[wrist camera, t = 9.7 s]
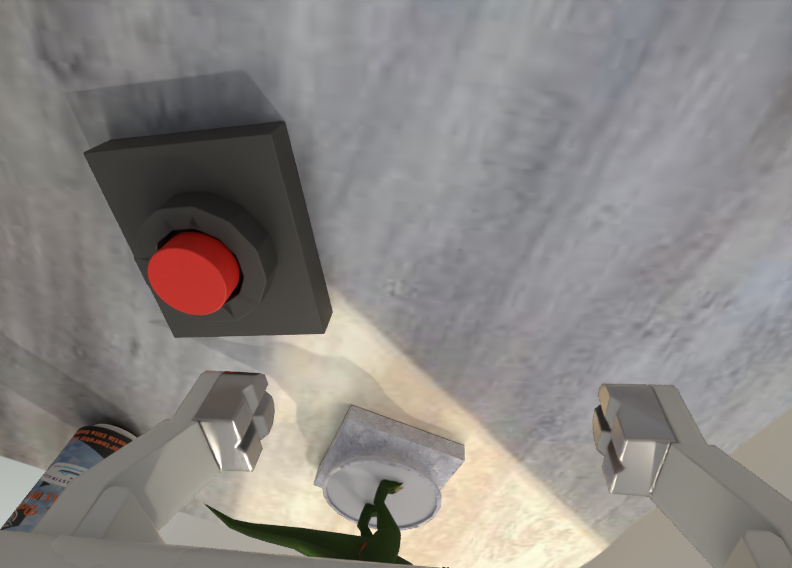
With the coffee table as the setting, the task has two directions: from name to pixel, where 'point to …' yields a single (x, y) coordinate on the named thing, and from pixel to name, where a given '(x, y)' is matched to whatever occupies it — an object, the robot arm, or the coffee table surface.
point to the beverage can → (67, 471)
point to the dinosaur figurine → (371, 489)
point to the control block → (222, 221)
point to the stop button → (194, 273)
